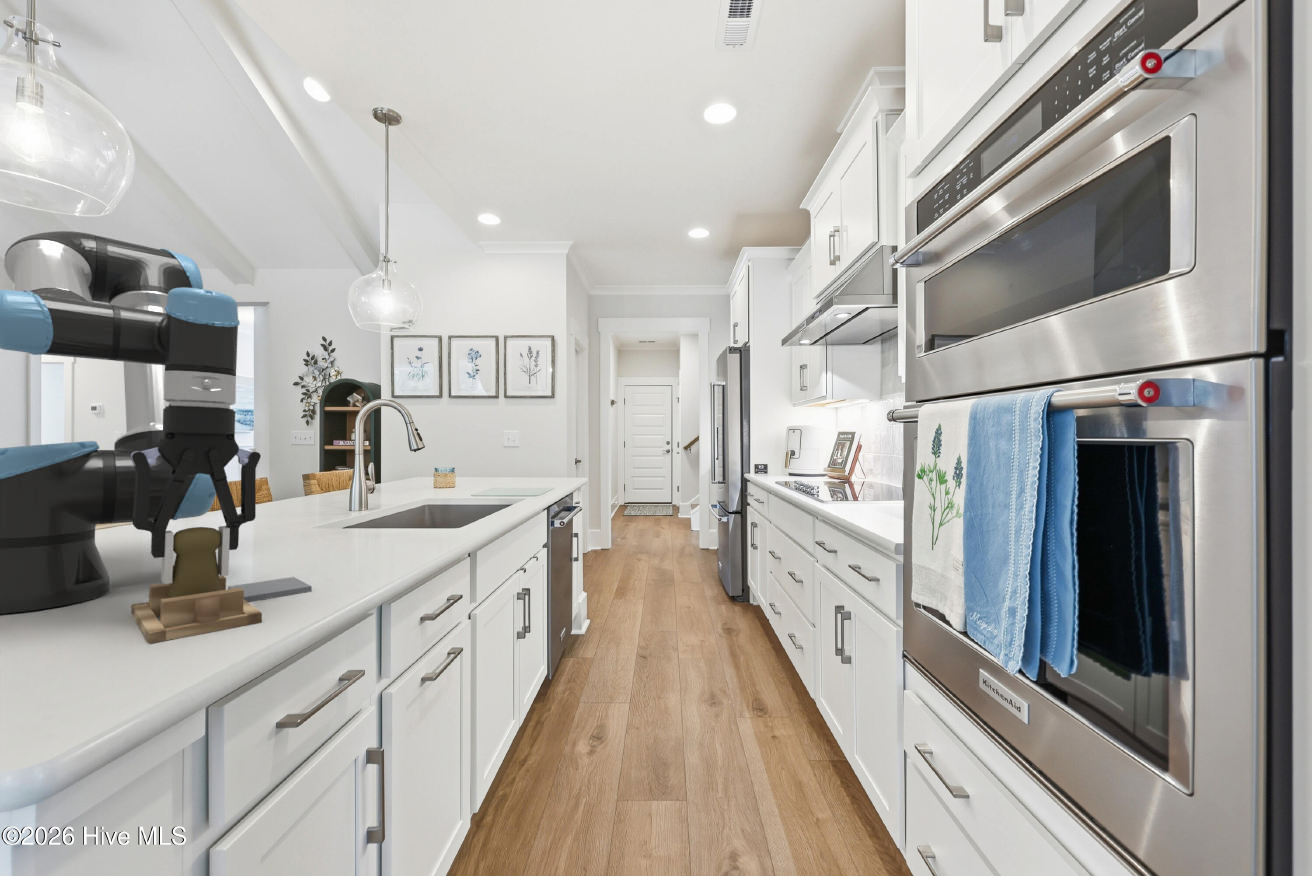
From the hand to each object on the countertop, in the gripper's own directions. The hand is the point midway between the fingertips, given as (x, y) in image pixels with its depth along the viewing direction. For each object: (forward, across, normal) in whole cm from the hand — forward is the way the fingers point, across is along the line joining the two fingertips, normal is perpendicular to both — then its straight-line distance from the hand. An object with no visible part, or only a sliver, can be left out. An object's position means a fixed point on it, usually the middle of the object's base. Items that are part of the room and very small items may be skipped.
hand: (195, 577), depth 74 cm
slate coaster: (+5, +10, +8) cm, 14 cm away
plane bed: (+5, 0, 0) cm, 5 cm away
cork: (+4, 0, 0) cm, 4 cm away
